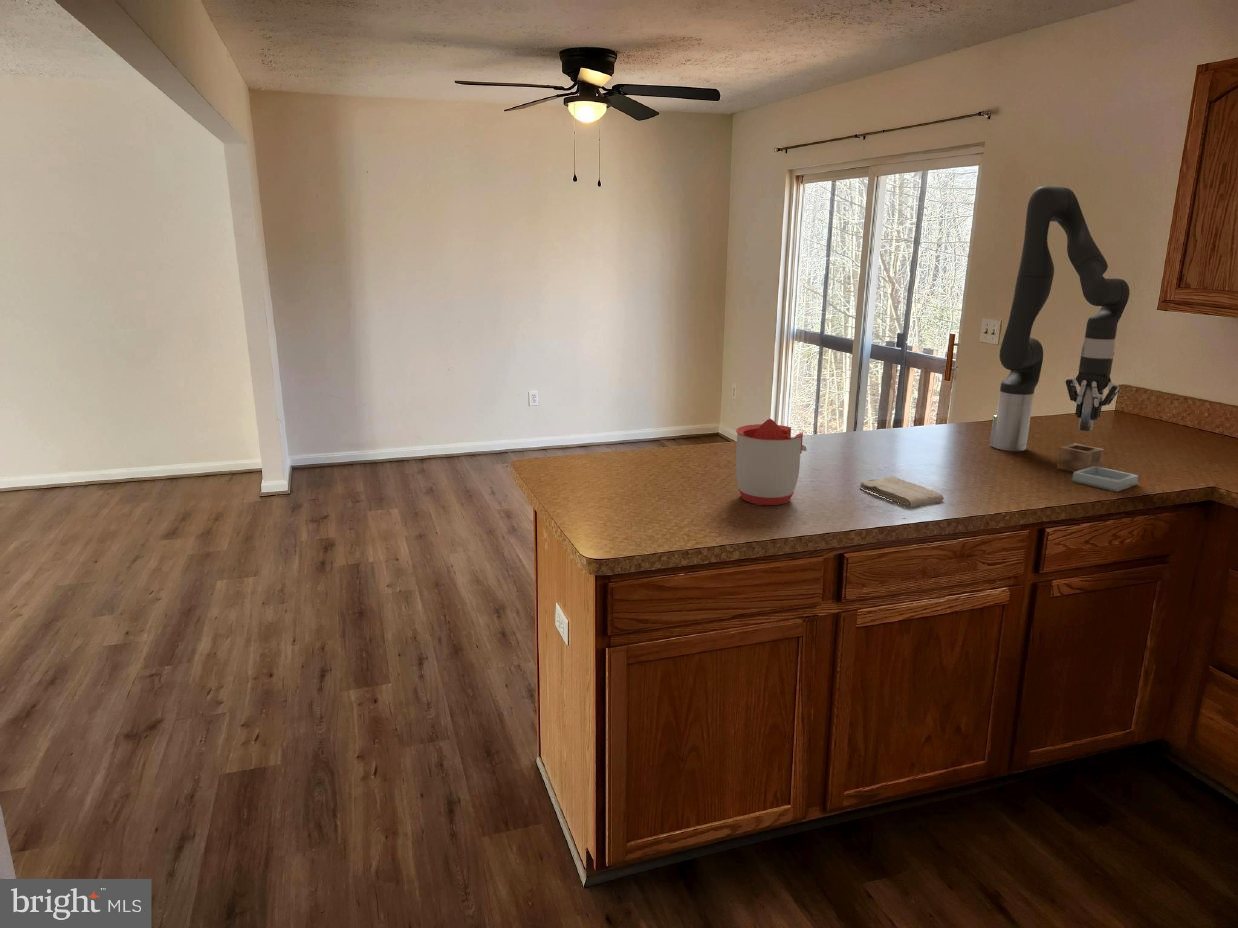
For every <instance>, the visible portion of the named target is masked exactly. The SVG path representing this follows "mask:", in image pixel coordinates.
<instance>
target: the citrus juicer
mask: <svg viewBox="0 0 1238 928" xmlns="http://www.w3.org/2000/svg"><path fill="white" fill-rule="evenodd" d="M735 432H736V453H735V456H736V457H735V475H736V481H737V486H738V491H739V493H740V496H741V498H742V500H744V501H746V502H748V503H752V504H755V506H779V505H783V504H787V503H789V502H790V500H791V499H792V497H793V495H794V492H795V489H796V486H797V484H798V483H797V482H798V479H799V475H800V465H801V454H802V453H803V451H804V452H807V447H806V445H804V444H803V437H804V433H803V432H800V433H797V434H795V436H794V437H792V427H791V426H788V425H781V424H778V423H776V422H775V420H774V419H772V418H768V419H767V420H765V421H764V422H763V423H761V424H747V425H743V426H739V427H738V428H737V429H736V431H735Z"/></svg>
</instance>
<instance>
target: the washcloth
mask: <svg viewBox="0 0 1238 928" xmlns="http://www.w3.org/2000/svg"><path fill="white" fill-rule="evenodd" d="M859 487H861V488H863V489H864V490H868V491H871V492H873V493H876V494H878V495H879V496H882V497H885V498H886V499H889V500H892V501H893V502H892V503H894V502H896V503H899V504H898V505H900V506H902V507H904V506H905V507H904V508H911V509H913V508H917V507H920V506H926V505H932V504H936V503H937V504H938V503H942V502H943V501H944V500H945V499H944V496H943V494H941V493H940V492H938V491H936V490H933V489H929V488H927V487H924V486H921V485H919V484H916V483H914V482H910V481H907V480H906V479H905V480H904V479H901V478H898V477H896V476H887V477H883V478H875V479H874V478H872V479H867V480H862V481H861V482H860V485H859V486H858V488H859ZM861 488H860V489H861ZM886 499H885V500H886ZM896 503H895V504H896Z"/></svg>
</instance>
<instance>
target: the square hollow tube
mask: <svg viewBox="0 0 1238 928" xmlns="http://www.w3.org/2000/svg"><path fill="white" fill-rule="evenodd" d="M1104 454H1105V449H1104V448H1102V447H1095V446H1089V445H1085V444H1080V443H1071V444H1067V445H1063V446H1060V447H1059V450H1058V456H1057V457H1058V458H1057V465H1056V469H1060V470H1064V471H1067V472H1068V471H1069V472H1073V473H1074V472H1076V471H1079V470H1082V469H1086V468H1089V467H1092V466H1097V467H1102V465H1103V459H1104Z"/></svg>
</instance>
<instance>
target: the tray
mask: <svg viewBox="0 0 1238 928" xmlns="http://www.w3.org/2000/svg"><path fill="white" fill-rule="evenodd" d="M1071 480H1072V482H1075V483H1078V484H1082V485H1086V486H1091V487H1095V488H1099V489H1104V490H1108V491H1111V492H1115V493H1116V492H1119V491H1122V490H1126V489H1128V488H1132V487H1134V486H1137V485H1138V480H1139V475H1138V474H1133V473H1130V472H1125V471H1121V470H1115V469H1112V468H1111V469H1110V468H1106V467H1102V466H1101V467H1097V466H1092V467H1089V468H1086V469H1082V470H1079V471H1076V472H1073V473H1072V479H1071Z"/></svg>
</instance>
